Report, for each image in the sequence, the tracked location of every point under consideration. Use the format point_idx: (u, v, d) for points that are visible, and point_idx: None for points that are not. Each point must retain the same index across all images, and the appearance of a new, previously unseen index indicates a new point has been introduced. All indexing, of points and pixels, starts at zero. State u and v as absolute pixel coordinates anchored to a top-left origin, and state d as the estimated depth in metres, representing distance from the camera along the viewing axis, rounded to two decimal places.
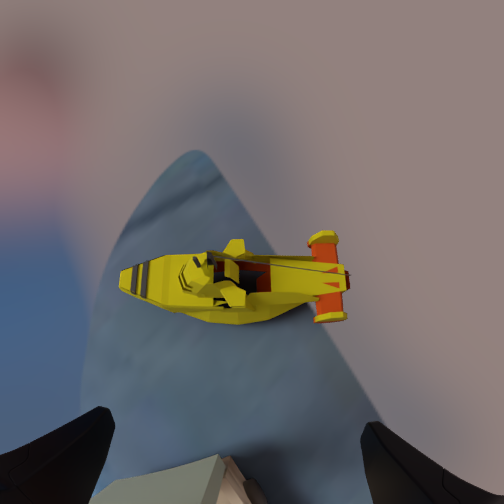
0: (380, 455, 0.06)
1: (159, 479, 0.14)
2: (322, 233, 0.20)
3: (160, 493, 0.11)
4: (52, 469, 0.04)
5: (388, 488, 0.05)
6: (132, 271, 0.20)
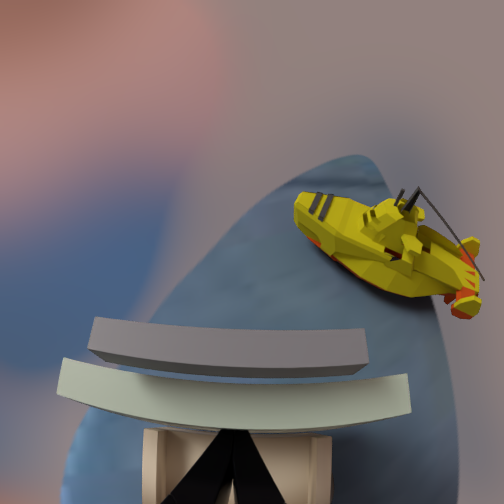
0: (232, 466, 0.06)
1: None
2: (472, 238, 0.18)
3: None
4: None
5: (235, 503, 0.05)
6: (315, 196, 0.21)
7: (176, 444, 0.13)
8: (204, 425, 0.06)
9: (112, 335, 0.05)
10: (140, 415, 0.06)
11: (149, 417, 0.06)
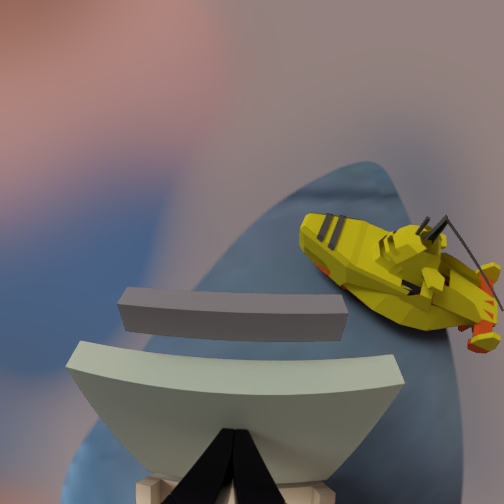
0: None
1: None
2: (493, 264, 0.16)
3: None
4: None
5: (235, 503, 0.05)
6: (324, 218, 0.18)
7: None
8: (208, 392, 0.07)
9: (140, 296, 0.07)
10: (147, 383, 0.07)
11: (156, 385, 0.07)
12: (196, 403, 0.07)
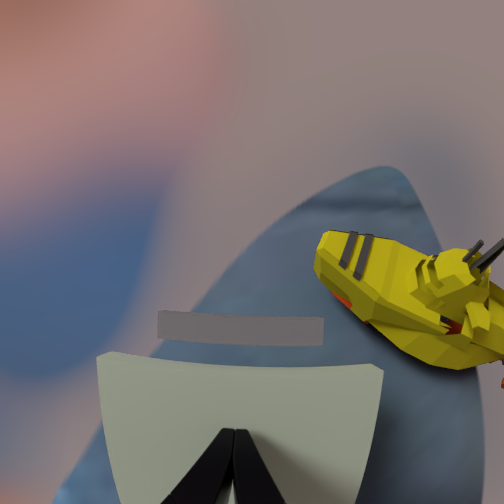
0: (232, 466, 0.06)
1: None
2: None
3: None
4: None
5: (235, 503, 0.05)
6: (347, 237, 0.14)
7: None
8: (220, 375, 0.08)
9: (175, 312, 0.10)
10: (169, 369, 0.08)
11: (177, 370, 0.08)
12: (208, 393, 0.08)
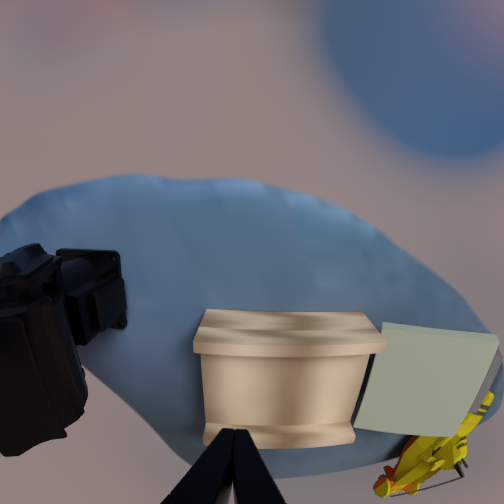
0: (233, 465, 0.06)
1: None
2: (417, 491, 0.20)
3: None
4: None
5: (235, 503, 0.05)
6: (487, 405, 0.18)
7: None
8: (478, 390, 0.14)
9: (499, 361, 0.15)
10: (486, 372, 0.14)
11: (485, 375, 0.14)
12: (474, 386, 0.15)
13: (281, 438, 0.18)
